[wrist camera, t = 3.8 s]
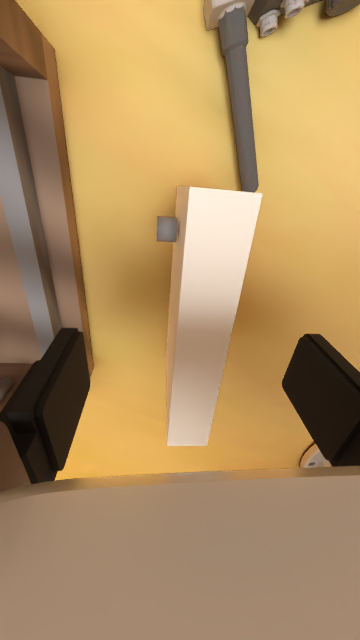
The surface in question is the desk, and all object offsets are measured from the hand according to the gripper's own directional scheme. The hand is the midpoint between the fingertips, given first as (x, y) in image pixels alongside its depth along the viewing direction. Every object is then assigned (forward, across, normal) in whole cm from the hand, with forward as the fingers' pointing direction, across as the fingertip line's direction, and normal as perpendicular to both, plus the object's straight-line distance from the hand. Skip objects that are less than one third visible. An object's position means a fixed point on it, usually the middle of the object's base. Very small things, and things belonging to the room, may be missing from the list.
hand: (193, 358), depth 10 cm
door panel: (+10, -1, +1) cm, 10 cm away
